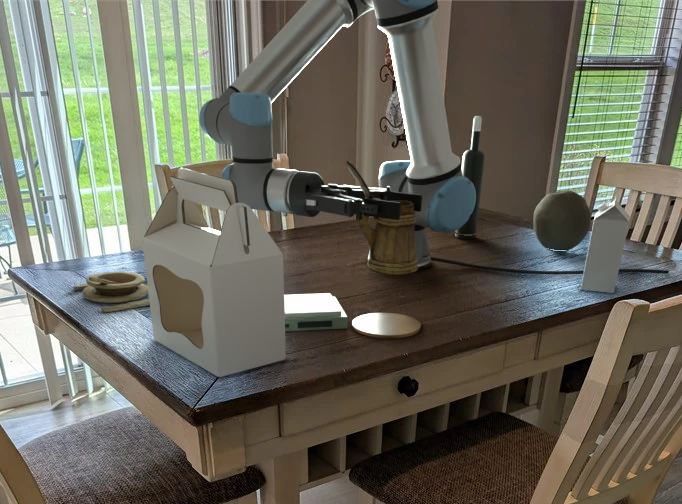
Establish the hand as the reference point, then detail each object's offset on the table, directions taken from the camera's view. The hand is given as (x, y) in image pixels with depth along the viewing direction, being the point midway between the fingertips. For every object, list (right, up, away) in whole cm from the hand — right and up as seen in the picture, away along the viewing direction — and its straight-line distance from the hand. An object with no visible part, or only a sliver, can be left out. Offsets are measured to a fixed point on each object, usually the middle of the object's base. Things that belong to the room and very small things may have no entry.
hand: (410, 207), depth 124 cm
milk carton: (+45, -3, +38) cm, 60 cm away
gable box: (-33, -24, +1) cm, 41 cm away
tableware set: (-52, -6, +30) cm, 60 cm away
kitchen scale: (-19, -15, +16) cm, 29 cm away
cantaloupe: (+44, +14, +66) cm, 81 cm away
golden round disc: (-3, -17, +13) cm, 22 cm away
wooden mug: (-5, -8, +7) cm, 12 cm away
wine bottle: (+23, +23, +79) cm, 86 cm away
